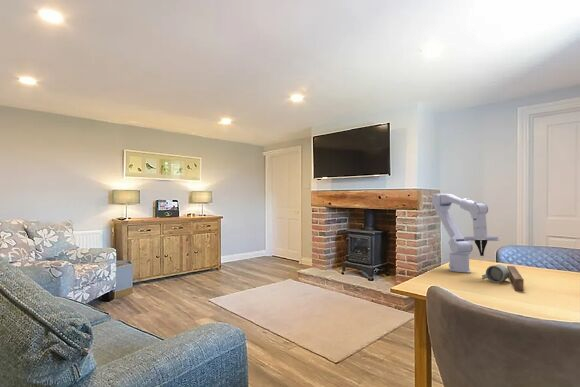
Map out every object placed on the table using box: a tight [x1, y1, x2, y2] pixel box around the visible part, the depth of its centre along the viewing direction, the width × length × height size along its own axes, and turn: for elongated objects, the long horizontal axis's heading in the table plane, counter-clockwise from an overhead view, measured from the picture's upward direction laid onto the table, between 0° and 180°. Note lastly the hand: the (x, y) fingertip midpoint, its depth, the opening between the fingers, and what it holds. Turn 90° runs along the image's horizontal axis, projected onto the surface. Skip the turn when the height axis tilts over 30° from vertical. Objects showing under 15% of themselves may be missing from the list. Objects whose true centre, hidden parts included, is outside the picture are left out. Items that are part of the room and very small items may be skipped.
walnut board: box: [506, 265, 525, 292], centre depth 147 cm, size 3×26×5 cm, turn 152°
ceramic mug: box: [481, 264, 509, 284], centre depth 152 cm, size 11×8×8 cm
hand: (481, 255), depth 158 cm, fingers closed
